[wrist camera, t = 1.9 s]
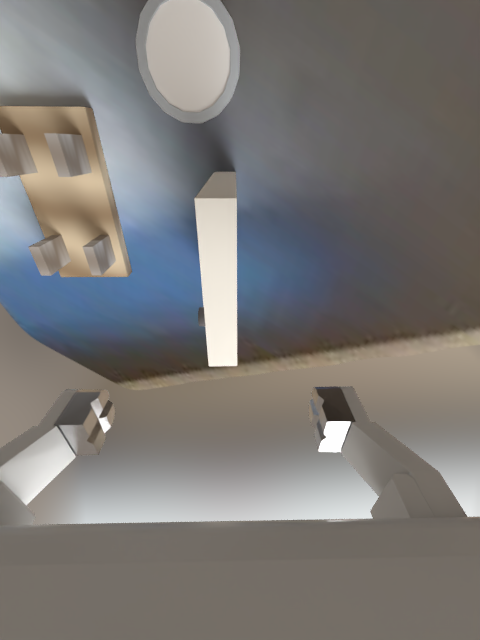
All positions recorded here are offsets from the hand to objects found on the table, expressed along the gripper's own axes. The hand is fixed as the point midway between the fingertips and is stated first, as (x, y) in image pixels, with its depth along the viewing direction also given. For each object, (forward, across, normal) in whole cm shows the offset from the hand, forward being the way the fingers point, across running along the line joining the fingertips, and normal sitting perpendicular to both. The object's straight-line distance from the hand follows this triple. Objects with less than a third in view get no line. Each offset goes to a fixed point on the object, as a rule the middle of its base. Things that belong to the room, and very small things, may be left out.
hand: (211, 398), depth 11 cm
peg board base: (+24, +16, -3) cm, 29 cm away
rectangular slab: (+24, 0, 0) cm, 24 cm away
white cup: (+24, +2, -13) cm, 27 cm away
